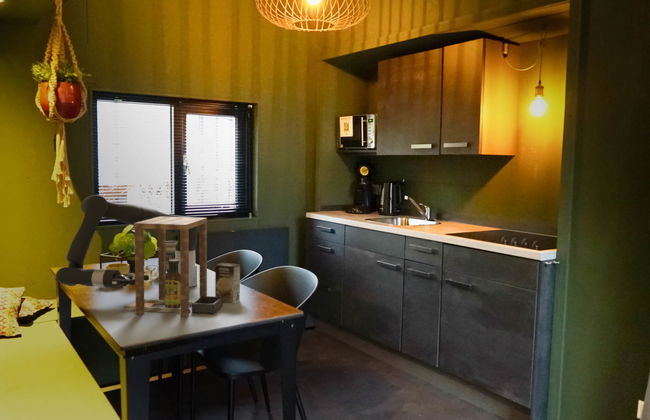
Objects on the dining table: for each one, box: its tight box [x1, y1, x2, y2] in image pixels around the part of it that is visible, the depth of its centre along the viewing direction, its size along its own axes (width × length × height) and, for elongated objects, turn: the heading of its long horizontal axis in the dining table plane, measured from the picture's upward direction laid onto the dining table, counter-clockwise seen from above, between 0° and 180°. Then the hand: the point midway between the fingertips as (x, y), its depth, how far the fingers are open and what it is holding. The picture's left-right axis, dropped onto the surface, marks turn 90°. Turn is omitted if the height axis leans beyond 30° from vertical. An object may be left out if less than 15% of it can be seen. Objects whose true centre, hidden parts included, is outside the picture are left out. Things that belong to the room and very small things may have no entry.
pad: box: [128, 301, 157, 307], centre depth 226 cm, size 9×10×1 cm
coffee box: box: [214, 262, 241, 305], centre depth 237 cm, size 9×6×16 cm
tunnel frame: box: [123, 216, 208, 319], centre depth 224 cm, size 28×25×36 cm
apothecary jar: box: [166, 240, 178, 275], centre depth 284 cm, size 12×12×18 cm
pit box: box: [191, 295, 224, 315], centre depth 223 cm, size 9×12×4 cm
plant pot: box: [105, 262, 130, 288], centre depth 262 cm, size 10×10×10 cm
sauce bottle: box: [164, 259, 181, 308], centre depth 224 cm, size 6×6×20 cm
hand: (144, 280), depth 225 cm, fingers open, 8 cm apart
